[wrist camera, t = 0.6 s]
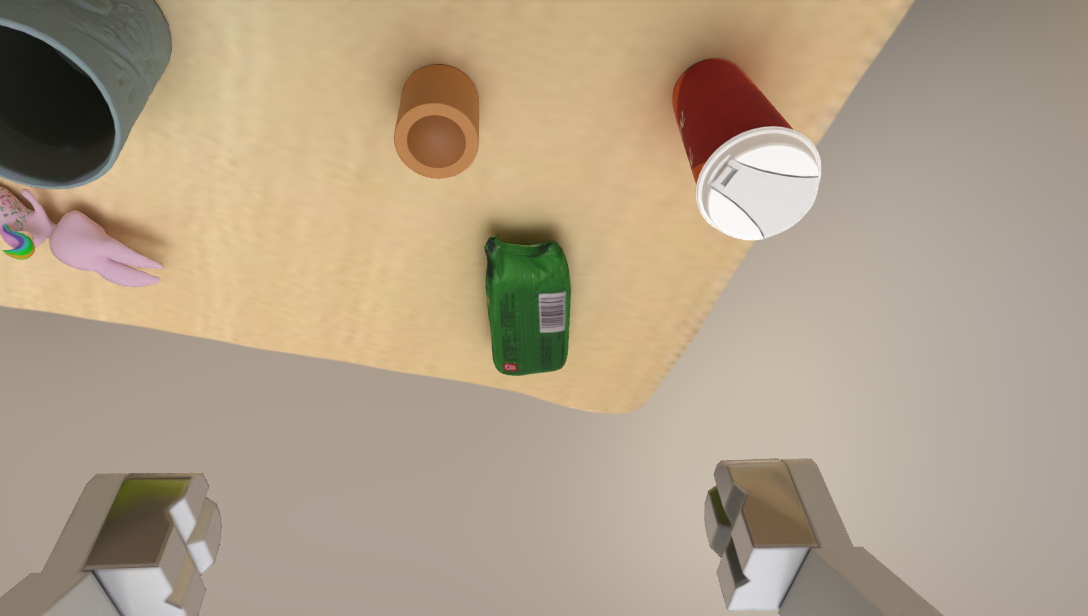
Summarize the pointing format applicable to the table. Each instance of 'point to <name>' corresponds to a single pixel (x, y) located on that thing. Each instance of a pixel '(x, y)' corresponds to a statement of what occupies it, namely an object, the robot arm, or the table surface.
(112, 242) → the rabbit figure
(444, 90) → the terracotta hollow cylinder
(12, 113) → the grey green plant pot
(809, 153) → the paper cup
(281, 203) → the table surface
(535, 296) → the snack package
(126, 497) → the robot arm
